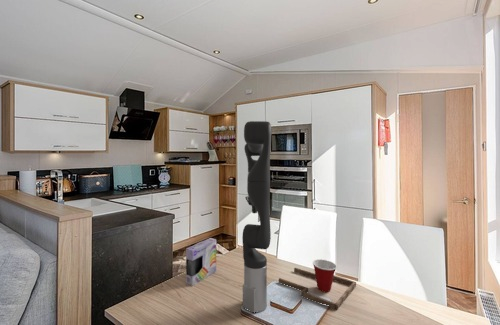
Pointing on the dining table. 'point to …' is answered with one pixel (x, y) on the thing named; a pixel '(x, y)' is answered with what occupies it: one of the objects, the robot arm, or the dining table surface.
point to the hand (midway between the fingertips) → (254, 213)
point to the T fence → (318, 299)
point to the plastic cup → (324, 274)
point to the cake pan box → (200, 261)
